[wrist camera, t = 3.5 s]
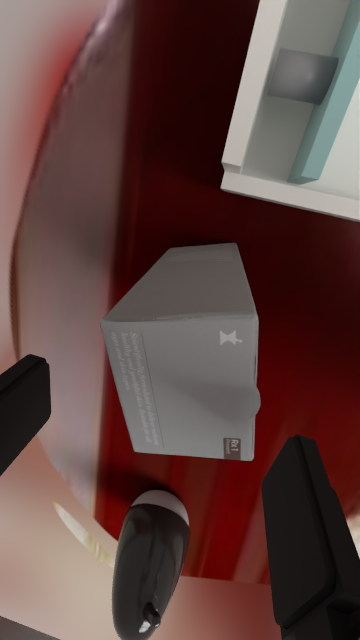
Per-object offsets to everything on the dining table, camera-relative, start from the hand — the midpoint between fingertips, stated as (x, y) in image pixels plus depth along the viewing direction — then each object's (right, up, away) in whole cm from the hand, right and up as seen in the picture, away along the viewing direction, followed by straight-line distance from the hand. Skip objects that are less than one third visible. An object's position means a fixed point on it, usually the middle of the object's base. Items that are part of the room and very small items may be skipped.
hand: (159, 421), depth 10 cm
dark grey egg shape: (-2, -26, +32) cm, 41 cm away
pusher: (+9, +19, +7) cm, 22 cm away
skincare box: (+4, +7, +15) cm, 17 cm away
